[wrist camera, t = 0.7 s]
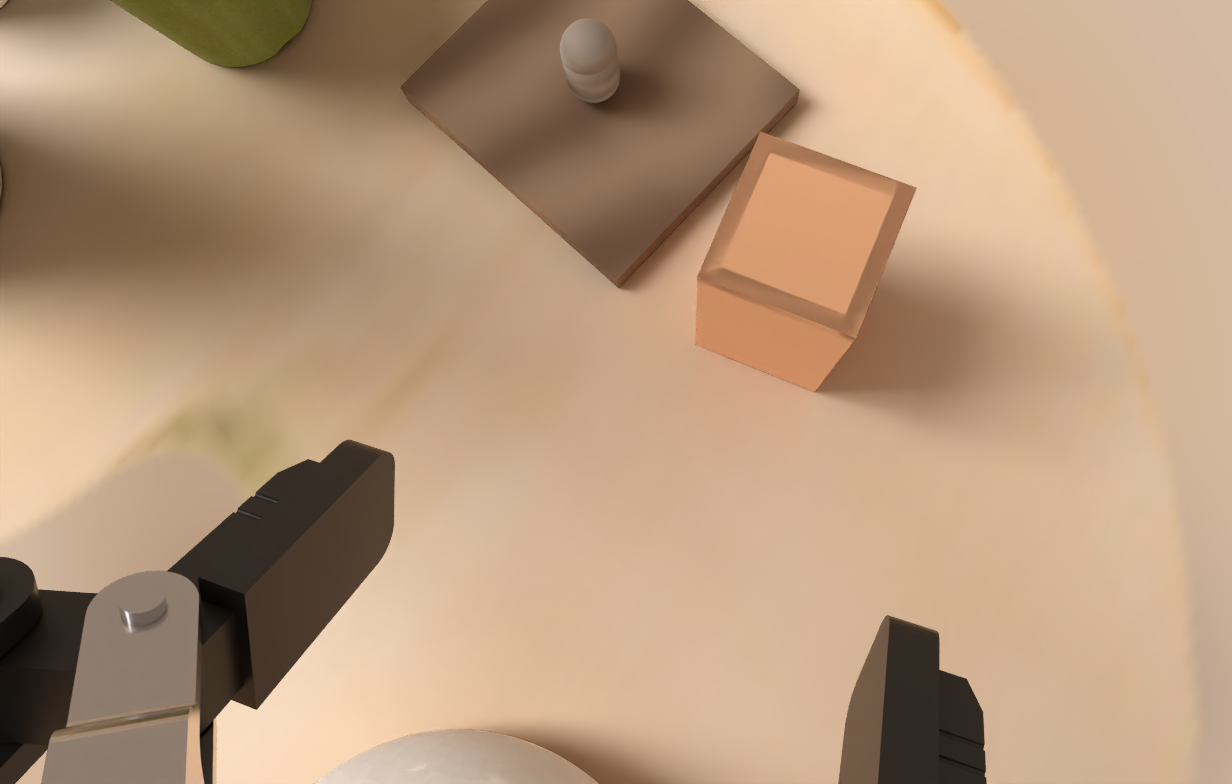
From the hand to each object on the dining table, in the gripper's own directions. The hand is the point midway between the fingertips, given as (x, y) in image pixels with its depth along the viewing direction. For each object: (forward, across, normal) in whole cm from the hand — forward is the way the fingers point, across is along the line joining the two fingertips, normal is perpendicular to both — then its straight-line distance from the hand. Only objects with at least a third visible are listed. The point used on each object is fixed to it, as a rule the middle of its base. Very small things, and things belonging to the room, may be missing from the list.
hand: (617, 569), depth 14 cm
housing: (+27, 0, +7) cm, 28 cm away
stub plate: (+31, +11, +1) cm, 33 cm away
